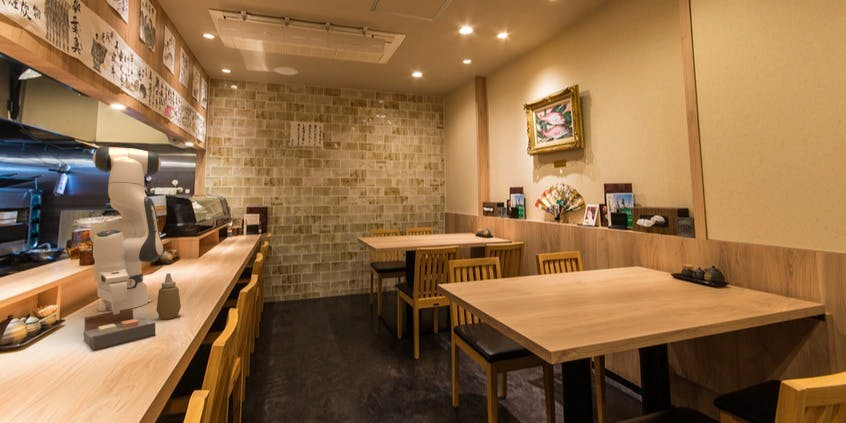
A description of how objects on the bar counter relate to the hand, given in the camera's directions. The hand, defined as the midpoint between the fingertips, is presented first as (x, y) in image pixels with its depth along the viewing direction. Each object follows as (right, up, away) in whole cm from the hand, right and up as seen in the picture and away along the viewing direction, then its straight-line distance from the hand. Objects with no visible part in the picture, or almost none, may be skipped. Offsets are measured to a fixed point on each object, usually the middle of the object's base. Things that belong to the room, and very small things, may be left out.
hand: (112, 311), depth 128 cm
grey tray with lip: (+10, -7, -8) cm, 14 cm away
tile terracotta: (+10, -4, -4) cm, 12 cm away
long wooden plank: (-1, -7, 0) cm, 7 cm away
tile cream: (+7, -4, -9) cm, 12 cm away
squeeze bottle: (+11, -6, +14) cm, 19 cm away
